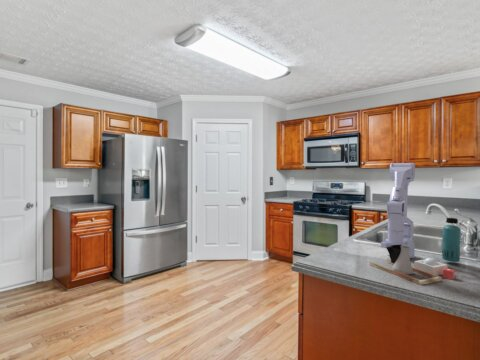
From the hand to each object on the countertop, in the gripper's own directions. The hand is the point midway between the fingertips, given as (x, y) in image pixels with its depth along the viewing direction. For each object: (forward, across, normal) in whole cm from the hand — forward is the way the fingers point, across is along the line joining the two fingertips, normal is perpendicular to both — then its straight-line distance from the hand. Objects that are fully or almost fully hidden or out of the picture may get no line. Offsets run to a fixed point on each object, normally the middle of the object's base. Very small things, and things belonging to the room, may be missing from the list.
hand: (394, 263), depth 117 cm
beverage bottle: (+3, -30, +5) cm, 30 cm away
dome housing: (+2, -11, +8) cm, 13 cm away
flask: (+2, 0, +4) cm, 4 cm away
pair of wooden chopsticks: (+2, 0, +3) cm, 4 cm away
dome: (+2, -11, +8) cm, 13 cm away
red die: (+2, -10, +15) cm, 18 cm away
